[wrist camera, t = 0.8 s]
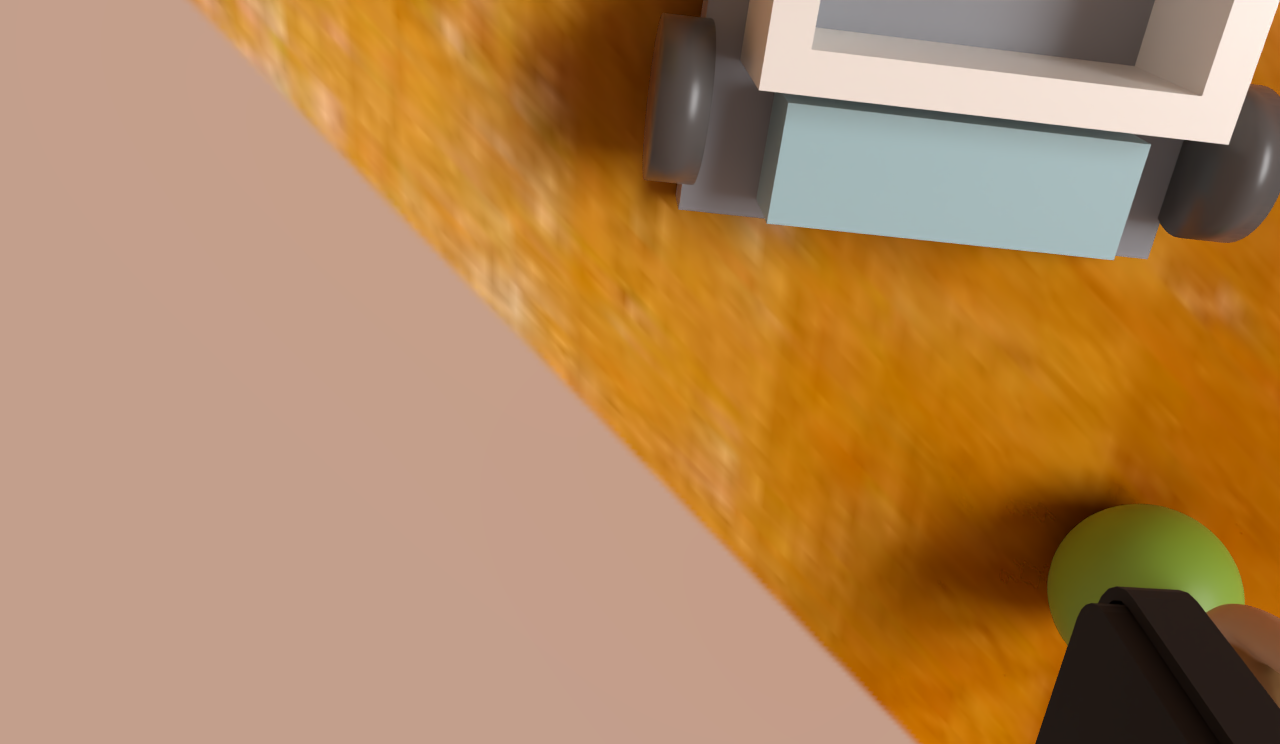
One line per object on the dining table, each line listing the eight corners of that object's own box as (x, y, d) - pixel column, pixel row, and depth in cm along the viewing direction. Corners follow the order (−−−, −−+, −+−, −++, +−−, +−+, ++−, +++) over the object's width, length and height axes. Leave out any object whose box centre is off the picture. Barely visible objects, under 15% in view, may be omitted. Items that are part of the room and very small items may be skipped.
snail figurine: (1229, 456, 35) (1510, 736, 24) (1152, 619, 38) (1375, 935, 27) (1066, 432, 35) (1281, 708, 24) (1000, 599, 37) (1165, 914, 27)
